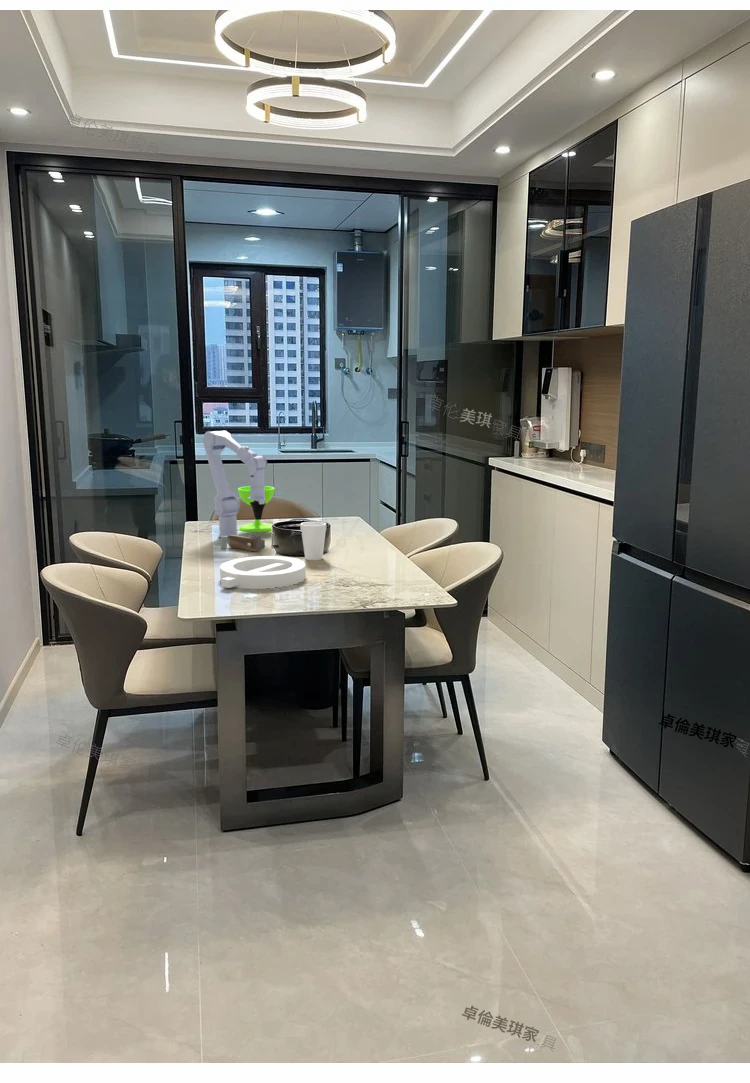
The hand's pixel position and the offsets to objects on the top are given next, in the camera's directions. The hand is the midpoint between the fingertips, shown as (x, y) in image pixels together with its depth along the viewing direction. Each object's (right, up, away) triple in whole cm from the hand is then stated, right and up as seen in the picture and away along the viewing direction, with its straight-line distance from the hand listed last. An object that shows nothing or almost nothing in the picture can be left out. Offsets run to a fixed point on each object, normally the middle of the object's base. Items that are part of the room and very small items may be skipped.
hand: (258, 519), depth 322 cm
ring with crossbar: (+10, -22, -58) cm, 63 cm away
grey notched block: (+1, -11, -11) cm, 16 cm away
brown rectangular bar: (-4, -12, -15) cm, 19 cm away
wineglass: (-5, -4, +29) cm, 30 cm away
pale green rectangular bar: (-2, -11, -8) cm, 14 cm away
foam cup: (+25, -15, -29) cm, 41 cm away
